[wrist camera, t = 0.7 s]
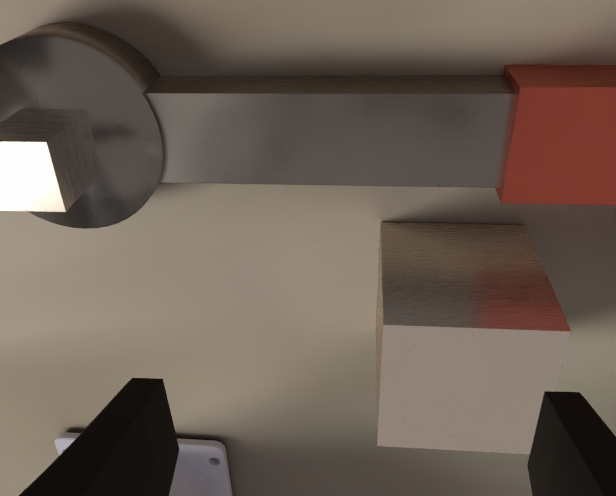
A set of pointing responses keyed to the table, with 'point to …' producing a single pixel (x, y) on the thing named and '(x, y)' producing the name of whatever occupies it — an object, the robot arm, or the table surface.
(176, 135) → the orange and grey piece
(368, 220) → the table surface
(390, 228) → the white wooden cube
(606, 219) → the table surface
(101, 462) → the robot arm
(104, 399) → the table surface
